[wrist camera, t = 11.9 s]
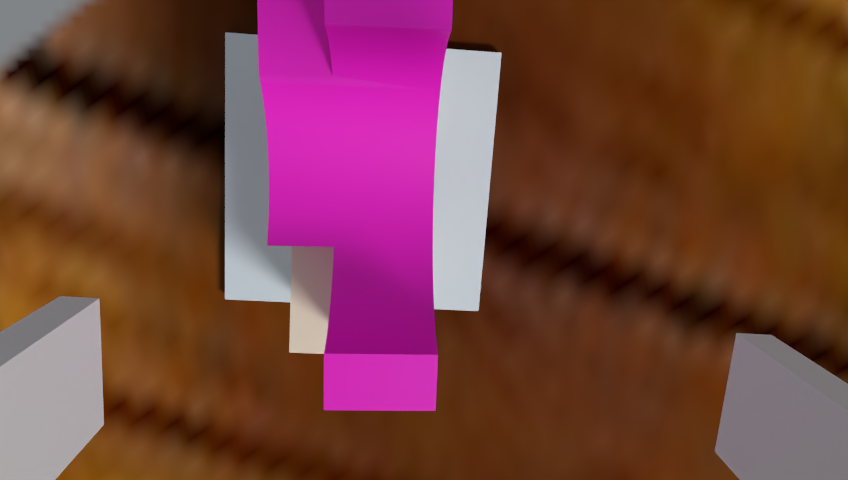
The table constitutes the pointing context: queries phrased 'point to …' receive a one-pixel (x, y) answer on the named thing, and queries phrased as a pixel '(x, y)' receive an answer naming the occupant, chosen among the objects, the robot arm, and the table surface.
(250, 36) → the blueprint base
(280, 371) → the table surface
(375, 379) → the toy block
